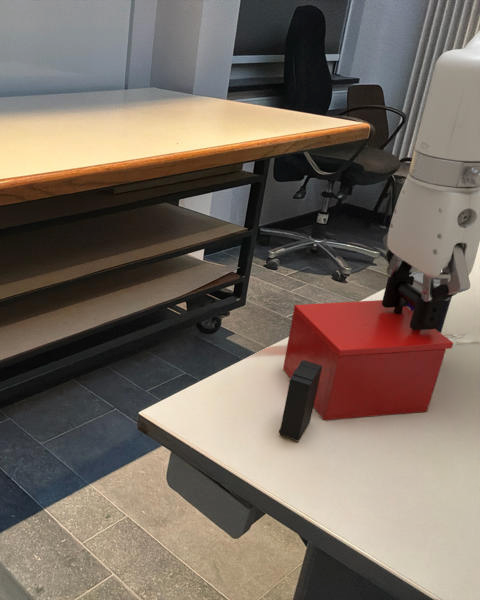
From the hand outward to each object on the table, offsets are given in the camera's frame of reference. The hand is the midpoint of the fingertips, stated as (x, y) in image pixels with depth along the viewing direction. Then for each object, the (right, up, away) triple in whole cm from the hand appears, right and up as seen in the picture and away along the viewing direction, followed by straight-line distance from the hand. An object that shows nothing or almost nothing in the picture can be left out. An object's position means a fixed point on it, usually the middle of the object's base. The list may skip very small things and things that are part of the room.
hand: (408, 315), depth 82 cm
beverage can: (+6, -6, +11) cm, 14 cm away
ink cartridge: (-15, -13, -4) cm, 20 cm away
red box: (-5, -9, +4) cm, 11 cm away
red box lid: (-5, -2, 0) cm, 5 cm away
